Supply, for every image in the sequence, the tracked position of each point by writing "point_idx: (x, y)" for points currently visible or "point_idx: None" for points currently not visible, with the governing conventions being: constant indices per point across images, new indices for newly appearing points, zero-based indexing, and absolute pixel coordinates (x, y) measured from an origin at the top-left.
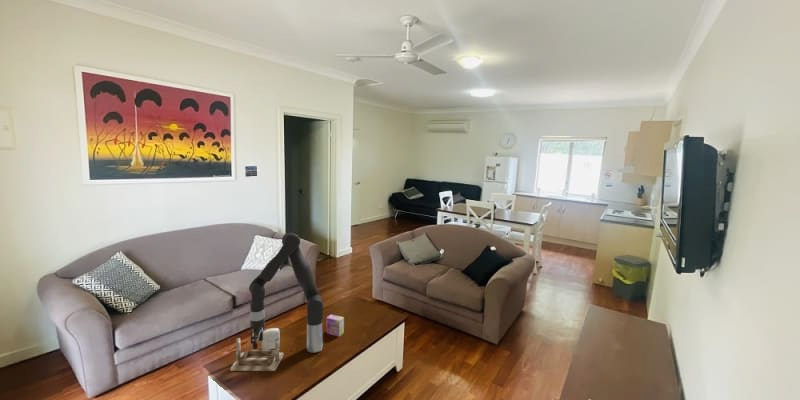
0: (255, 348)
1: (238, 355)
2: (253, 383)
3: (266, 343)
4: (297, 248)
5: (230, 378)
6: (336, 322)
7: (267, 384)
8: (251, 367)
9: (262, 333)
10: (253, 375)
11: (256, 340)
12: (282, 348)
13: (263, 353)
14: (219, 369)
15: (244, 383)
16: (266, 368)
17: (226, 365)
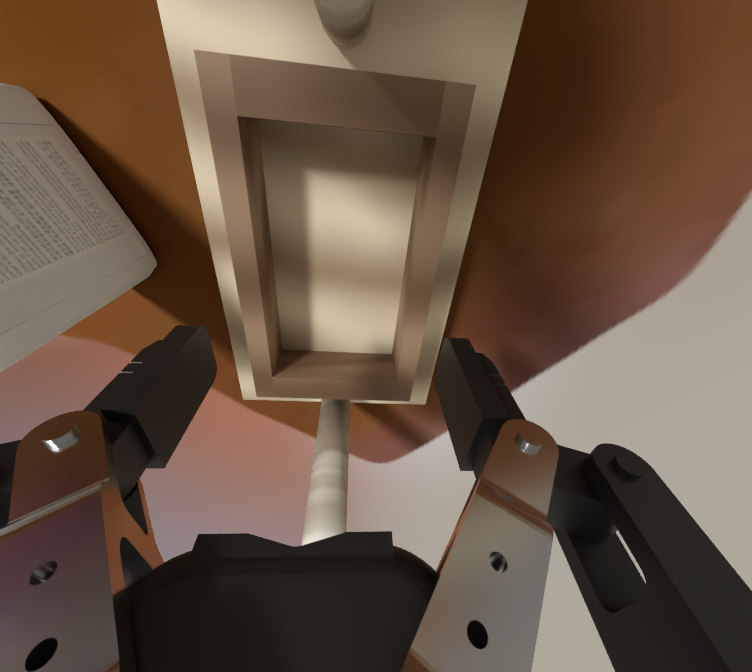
0: (483, 360)
1: (348, 420)
2: (629, 206)
3: (87, 255)
4: None
5: (501, 368)
6: None
7: (726, 48)
8: (446, 283)
9: (105, 439)
10: (518, 238)
11: (547, 480)
12: (17, 20)
13: (262, 237)
14: (400, 436)
15: (594, 275)
16: (493, 130)
17: (366, 422)
